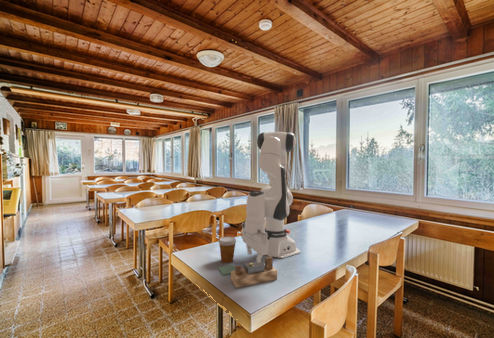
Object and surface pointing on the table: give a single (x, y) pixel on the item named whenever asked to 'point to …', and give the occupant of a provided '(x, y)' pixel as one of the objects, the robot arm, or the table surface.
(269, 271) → the plane body
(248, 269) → the lever cap
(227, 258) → the disposable coffee cup
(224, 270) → the felt pad
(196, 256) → the table surface
